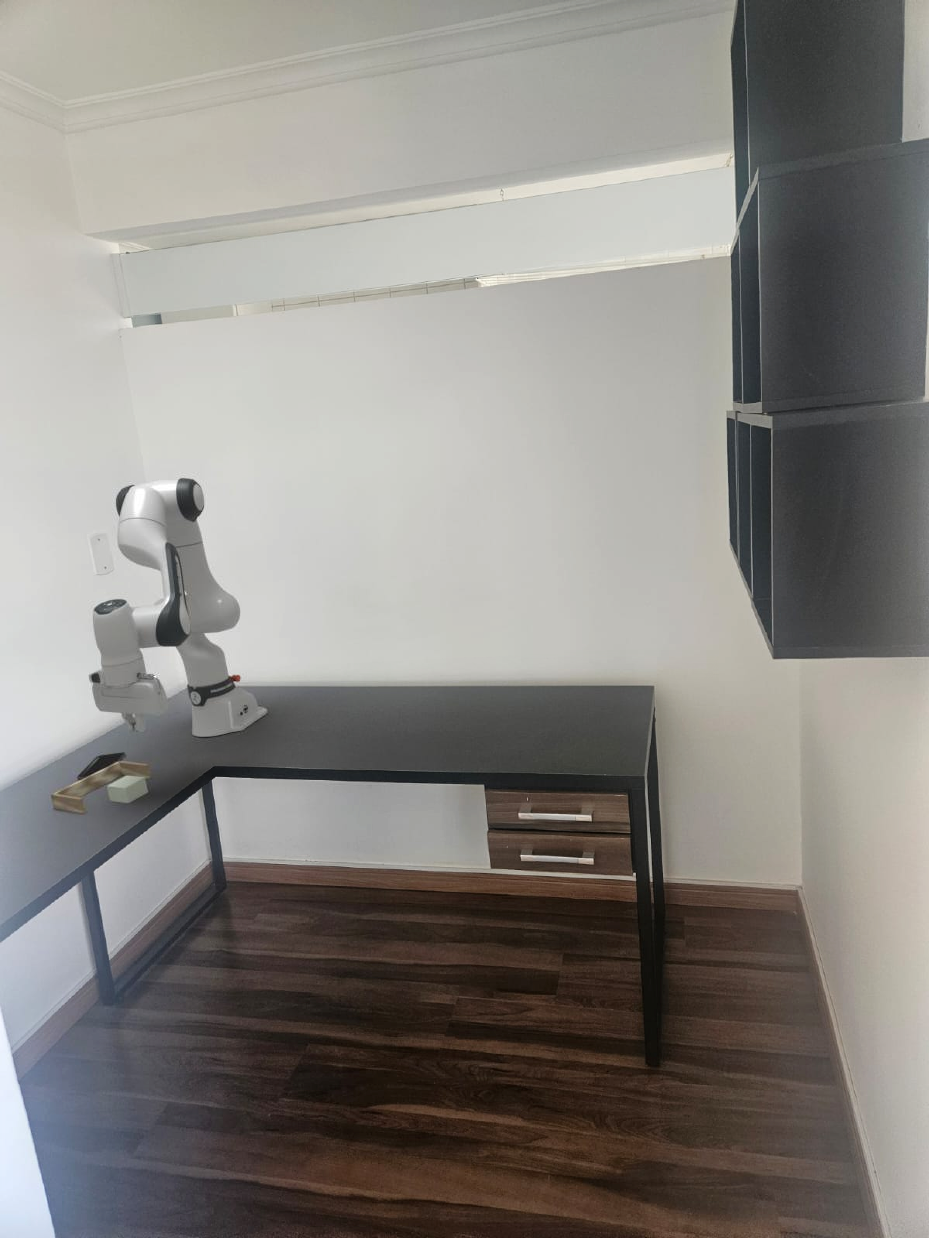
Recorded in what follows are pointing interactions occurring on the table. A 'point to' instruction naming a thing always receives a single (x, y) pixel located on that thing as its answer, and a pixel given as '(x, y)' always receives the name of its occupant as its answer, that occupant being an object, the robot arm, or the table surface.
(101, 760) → the phone
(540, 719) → the table surface
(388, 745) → the table surface
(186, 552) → the robot arm
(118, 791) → the sage block
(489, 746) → the table surface
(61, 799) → the wooden u-shaped bracket
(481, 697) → the table surface
